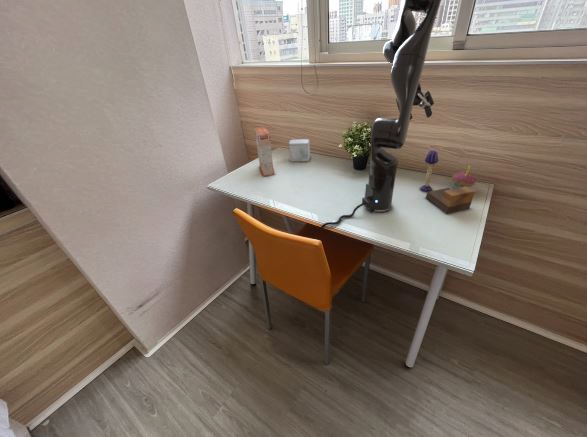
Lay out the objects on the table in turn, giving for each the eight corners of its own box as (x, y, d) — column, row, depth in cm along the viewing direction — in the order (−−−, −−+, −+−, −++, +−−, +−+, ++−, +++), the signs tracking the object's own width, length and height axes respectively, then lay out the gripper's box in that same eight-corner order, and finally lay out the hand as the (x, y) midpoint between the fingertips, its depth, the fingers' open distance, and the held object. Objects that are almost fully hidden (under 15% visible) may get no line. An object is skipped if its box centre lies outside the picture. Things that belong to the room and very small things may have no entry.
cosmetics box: (290, 161, 150) (288, 143, 144) (292, 157, 155) (290, 139, 149) (308, 161, 148) (307, 142, 142) (310, 157, 153) (309, 138, 147)
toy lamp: (425, 193, 111) (434, 154, 102) (416, 189, 114) (424, 151, 105) (433, 190, 113) (443, 151, 103) (424, 186, 116) (432, 148, 107)
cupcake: (475, 194, 107) (485, 166, 100) (452, 194, 109) (460, 166, 102) (468, 184, 114) (477, 157, 107) (446, 184, 116) (453, 157, 109)
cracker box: (275, 174, 137) (269, 133, 125) (263, 176, 136) (256, 135, 125) (270, 164, 149) (265, 125, 137) (259, 166, 148) (253, 127, 136)
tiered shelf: (446, 213, 98) (451, 196, 94) (425, 198, 108) (429, 181, 104) (469, 208, 100) (475, 191, 96) (446, 194, 110) (451, 177, 105)
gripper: (396, 78, 106) (408, 114, 103) (429, 73, 108) (442, 109, 105) (388, 90, 113) (399, 125, 111) (418, 86, 116) (430, 120, 113)
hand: (420, 117), depth 108 cm, fingers open, 8 cm apart
